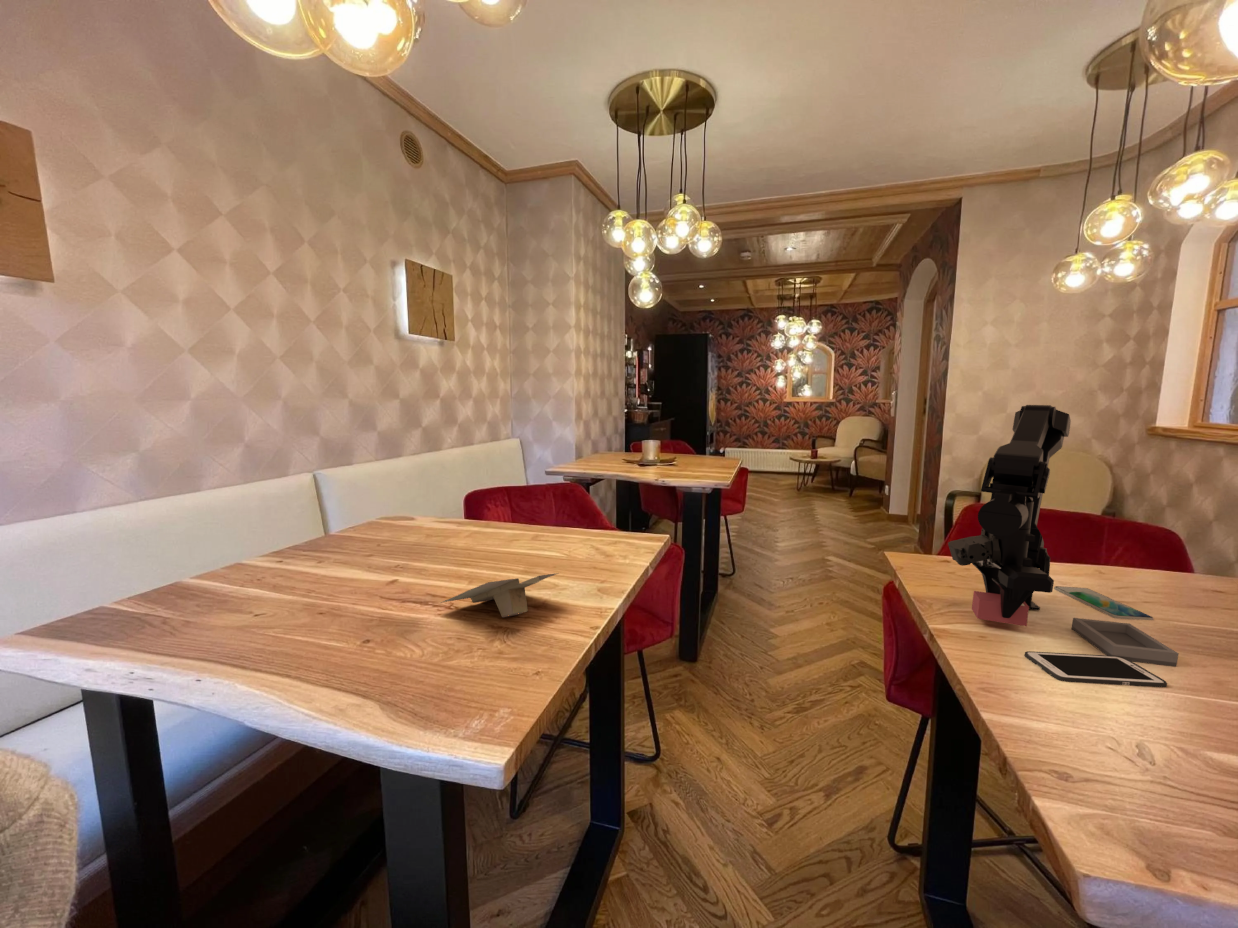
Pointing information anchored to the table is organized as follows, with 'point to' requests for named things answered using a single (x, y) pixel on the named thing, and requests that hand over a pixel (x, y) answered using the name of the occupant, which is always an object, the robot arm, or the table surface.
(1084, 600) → the smartphone
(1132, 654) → the pocket tray
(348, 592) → the table surface
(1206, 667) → the table surface
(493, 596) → the grey winged bracket
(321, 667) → the table surface
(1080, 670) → the cell phone
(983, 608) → the card box
